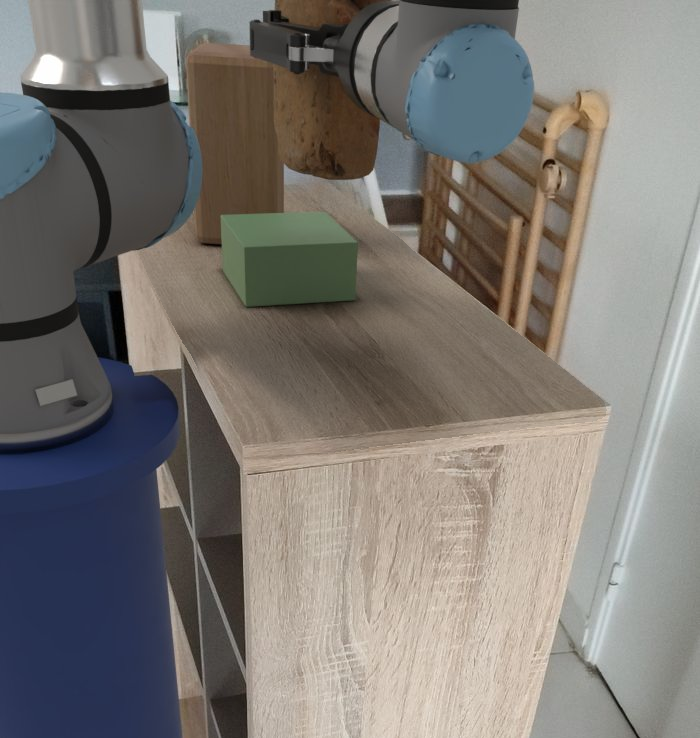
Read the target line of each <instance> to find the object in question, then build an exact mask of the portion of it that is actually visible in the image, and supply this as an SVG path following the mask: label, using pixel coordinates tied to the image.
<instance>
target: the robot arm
mask: <svg viewBox="0 0 700 738" xmlns="http://www.w3.org/2000/svg"><path fill="white" fill-rule="evenodd" d="M27 3H28V11H29V16H30V22H31V28H32V34H33V41H34V46H35V51H34V53H33V56H32V58H31V59H30V61H29V62H28V64H27V65H26V67H25V68H24V70H23V71H22V73H20V75H19V76H20V77H19V79H20V85H21V89H22V90H21V91H22V93H16V92H15V93H14V92H0V454H22V453H32V452H39V451H45V450H50V449H54V448H58V447H62V446H65V445H69V444H72V443H74V442H77V441H79V440H82V439H84V438H86V437H88V436H90V435H92V434H93V433H95V432H97V431H98V430H100V429H101V428H102V427H103V426H104V425H105V424H106V423H107V422H108V421H109V420H110V418H111V416H112V414H113V410H114V406H113V398H112V390H111V385H110V382H109V381H108V378H107V376H106V374H105V372H104V370H103V368H102V366H101V364H100V362H99V359H98V355H97V353H96V351H95V349H94V347H93V345H92V343H91V341H90V339H89V336H88V334H87V333H86V330H85V328H84V327H83V324H82V322H81V321H82V320H81V318H80V311H79V304H78V298H77V289H76V283H75V275H74V274H75V273H74V272H75V271H77V270H80V269H84V268H87V267H89V266H93V265H94V264H98V263H100V262H104V261H106V260H108V259H112V258H115V257H117V256H121V255H123V254H127V253H130V252H133V251H140V250H143V249H148V248H150V247H152V246H154V245H156V244H157V243H159V242H160V241H162V240H163V239H164V238H166V237H168V236H171V235H173V234H174V233H176V232H177V231H178V230H180V229H181V228H182V227H183V226H184V225H185V223H187V221H189V219H190V218H191V216H192V215H193V212H194V209H195V206H196V204H197V201H198V198H199V195H200V191H201V185H202V172H203V169H202V157H201V151H200V147H199V143H198V139H197V136H196V134H195V131H194V129H193V128H192V127H190V126H189V124H188V123H187V116H186V114H185V113H184V111H183V110H182V109H181V108H180V107H179V106H178V105H177V104H176V103H175V102H173V101H172V100H171V95H170V85H169V84H170V83H169V75H168V74H167V73H166V72H165V71H164V69H162V67H161V66H160V65H159V64H158V62H156V61H155V60H154V59H153V58H152V56H151V55H150V53H149V51H148V49H147V39H146V38H147V37H146V30H145V19H144V18H145V17H144V7H143V0H27ZM519 4H520V0H399V1H395V0H391V1H379V2H376V3H373V4H371V5H368V6H367V7H365V8H364V9H362V10H361V11H360V12H359V13H357V14H356V15H355V17H354V18H353V19H352V20H351V22H350V23H349V24H344V25H342V24H337V23H330V24H322V25H321V27H320V28H317V27H311V26H305V25H299V24H294V23H289V19H288V18H286V17H284V16H281V11H280V10H275V9H268V10H262V21H261V20H260V19H255V18H254V19H253V20H250V21H249V22H248V23H249V45H250V56H252V57H254V58H258V59H261V60H264V61H267V62H270V63H273V64H276V65H279V66H282V67H285V68H287V69H288V70H289V71H290V72H293V73H294V74H300V73H303V72H305V70H309V64H314V65H318V66H319V69H320V71H321V73H323V74H328V75H332V76H337V77H339V78H340V80H341V83H342V85H343V88H344V90H345V92H346V93H347V95H348V96H349V98H350V99H351V100H352V102H353V103H354V104H355V105H356V106H358V107H359V108H360V109H362V110H363V111H365V112H367V113H369V114H370V115H372V116H374V117H375V118H377V119H380V121H382V122H383V123H385V124H386V125H388V126H390V127H392V128H394V129H395V130H397V131H399V132H400V133H401V135H402V139H403V140H405V141H412V140H413V141H415V142H416V143H417V145H418V146H420V147H421V148H422V149H423V150H424V151H426V152H427V153H429V154H432V155H435V156H437V157H438V156H440V157H442V158H445V159H448V160H452V161H455V162H458V163H464V164H469V165H471V164H475V163H481V162H484V161H487V160H491V159H492V158H494V157H496V156H498V155H499V154H501V153H502V152H504V151H505V150H507V148H509V146H511V144H512V143H513V142H514V141H515V140H516V139H517V138H518V137H519V135H520V134H521V132H522V131H523V129H524V128H525V125H526V123H527V121H528V119H529V115H530V114H531V110H532V106H533V103H534V95H535V80H534V74H533V70H532V65H531V63H530V59H529V56H528V54H527V53H526V50H525V49H524V48H523V46H522V45H521V44H520V43H519V41H518V40H516V34H517V33H516V32H517V26H518V18H519V12H520V8H519ZM338 34H340V35H338Z"/></svg>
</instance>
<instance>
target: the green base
mask: <svg viewBox="0 0 700 738" xmlns="http://www.w3.org/2000/svg"><path fill="white" fill-rule="evenodd" d="M221 240H222V245H221V259H222V260H221V262H222V272H223V274H224V275H225V276H226V278H227V280H228V281H229V283H230V284H231V286H232V288H233V289H234V291H235V292H236V294H237V296H238V297H239V298H240V300H241V302H242V303H243V305H244V306H245V308H250V307H253V308H254V307H267V306H269V307H270V306H283V305H301V304H315V303H333V302H334V303H335V302H349V301H356V292H357V291H356V290H357V274H358V273H357V271H358V254H359V253H358V251H359V242H358V240H356V238H355V237H353V236H352V235H351V234H350V233H349V232H348V231H347V230H346V229H344V227H342V226H341V225H340V224H339V223H338V222H337V221H336V220H335V219H334V218H333V217H332V216H331V215H330V214H329V213H327V212H326V211H302V212H301V211H299V212H284V213H265V214H234V215H221Z"/></svg>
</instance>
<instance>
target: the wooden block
mask: <svg viewBox="0 0 700 738" xmlns="http://www.w3.org/2000/svg"><path fill="white" fill-rule="evenodd" d="M185 70H186V71H185V72H186V88H187V107H188V123H189V124H188V126H190V127H192V128H193V129H194V131H195V134H196V136H197V139H198V143H199V147H200V151H201V157H202V169H203V172H202V185H201V191H200V195H199V198H198V201H197V204H196V206H195V209H194V211H193V212H194V213H193V214H194V229H195V230H194V233H195V236H196V239H197V241H198V242H200V243H202V244H206V245H218V246H219V245H221V246H222V240H221V215H234V214H265V213H285V198H284V197H285V164H284V163H283V162H282V161H281V159H280V156H279V143H278V138H277V134H276V130H275V125H274V80H273V76H274V64H273V63H270V62H267V61H264V60H261V59H258V58H254V57H252V56H250V44H233V43H219V42H217V43H215V42H205V43H202V44H200V45H199V46H196V47H195V48H194V49H193V50H191V51H190V52H188V53H187V56H186V60H185Z"/></svg>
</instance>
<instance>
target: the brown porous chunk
mask: <svg viewBox="0 0 700 738" xmlns="http://www.w3.org/2000/svg"><path fill="white" fill-rule="evenodd" d="M379 1H392V0H274V10H280V11H281V16H284V17H286V18H288V19H289V23H294V24H299V25H305V26H311V27H317V28H320V27H321V25H322V24H330V23H337V24H342V25H344V24H349V23H350V22H351V20H352V19H353V18H354V17H355V15H356V14H357V13H359V12H360V11H361V10H362V9H364V8H365V7H367V6H368V5H371V4H373V3H376V2H379ZM338 35H340V34H338ZM273 80H274V125H275V130H276V134H277V138H278V143H279V156H280V159H281V161H282V162H283V163H284V166H286V167H287V169H289V170H291V171H294V172H296V173H299V174H302V175H309V176H312V177H315V178H321V179H324V180H329V181H353V180H358V179H362V178H364V177H367V176H369V175H371V173H372V172H373V171H374V168H375V165H376V160H377V154H378V148H379V137H380V128H381V120H380V119H377V118H375V117H374V116H372V115H370V114H369V113H367V112H365V111H363V110H362V109H360V108H359V107H358V106H356V105H355V104H354V103H353V102H352V100H351V99H350V98H349V96H348V95H347V93H346V92H345V90H344V88H343V85H342V83H341V80H340V78H339V77H337V76H332V75H328V74H323V73H321V71H320V69H319V66H318V65H314V64H309V70H305V72H303V73H300V74H294V73H293V72H290V71H289V70H288V69H287V68H285V67H282V66H279V65H276V64H274V76H273Z"/></svg>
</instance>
